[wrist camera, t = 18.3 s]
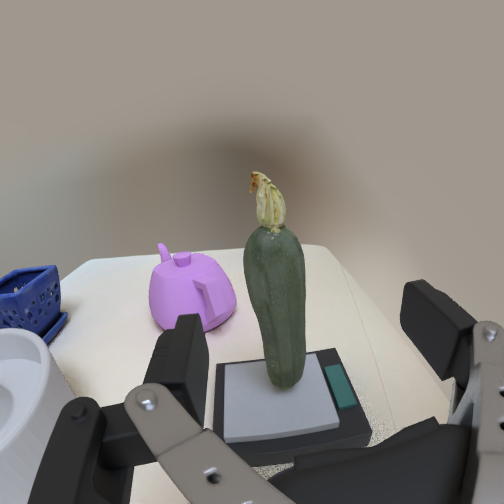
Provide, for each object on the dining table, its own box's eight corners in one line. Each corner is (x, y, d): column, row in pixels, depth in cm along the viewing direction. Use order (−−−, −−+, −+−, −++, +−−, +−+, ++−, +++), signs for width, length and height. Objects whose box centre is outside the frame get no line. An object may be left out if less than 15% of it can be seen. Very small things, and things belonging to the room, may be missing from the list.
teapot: (199, 284, 59) (189, 231, 55) (263, 323, 44) (255, 254, 40) (139, 307, 52) (123, 251, 48) (184, 362, 36) (164, 288, 33)
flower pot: (33, 318, 49) (13, 268, 45) (77, 318, 49) (57, 261, 45) (0, 354, 36) (-26, 297, 32) (45, 360, 36) (15, 295, 32)
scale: (334, 362, 33) (335, 340, 32) (368, 445, 21) (375, 425, 20) (220, 378, 33) (214, 357, 32) (217, 469, 21) (209, 451, 20)
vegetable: (315, 397, 25) (311, 169, 18) (273, 415, 23) (247, 177, 16) (292, 371, 29) (278, 166, 22) (253, 386, 27) (224, 174, 20)
